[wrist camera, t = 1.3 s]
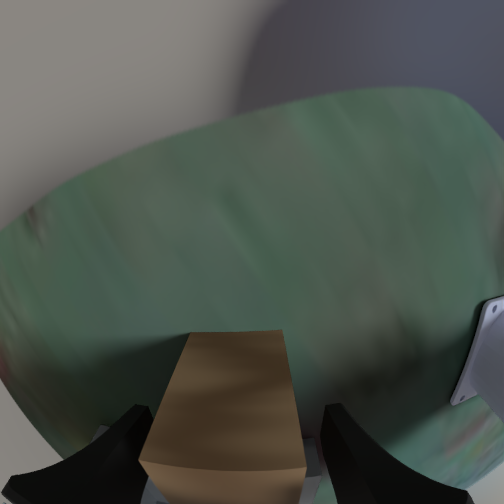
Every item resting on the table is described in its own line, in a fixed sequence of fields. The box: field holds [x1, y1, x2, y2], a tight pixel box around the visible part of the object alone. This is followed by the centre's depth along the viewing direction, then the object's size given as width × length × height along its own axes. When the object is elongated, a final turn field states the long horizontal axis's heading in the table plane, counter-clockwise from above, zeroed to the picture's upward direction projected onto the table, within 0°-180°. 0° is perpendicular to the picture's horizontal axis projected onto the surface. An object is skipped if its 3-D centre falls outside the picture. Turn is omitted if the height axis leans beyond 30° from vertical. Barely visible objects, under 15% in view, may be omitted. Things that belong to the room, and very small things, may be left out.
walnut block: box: [138, 330, 307, 504], centre depth 9 cm, size 4×6×7 cm, turn 3°
